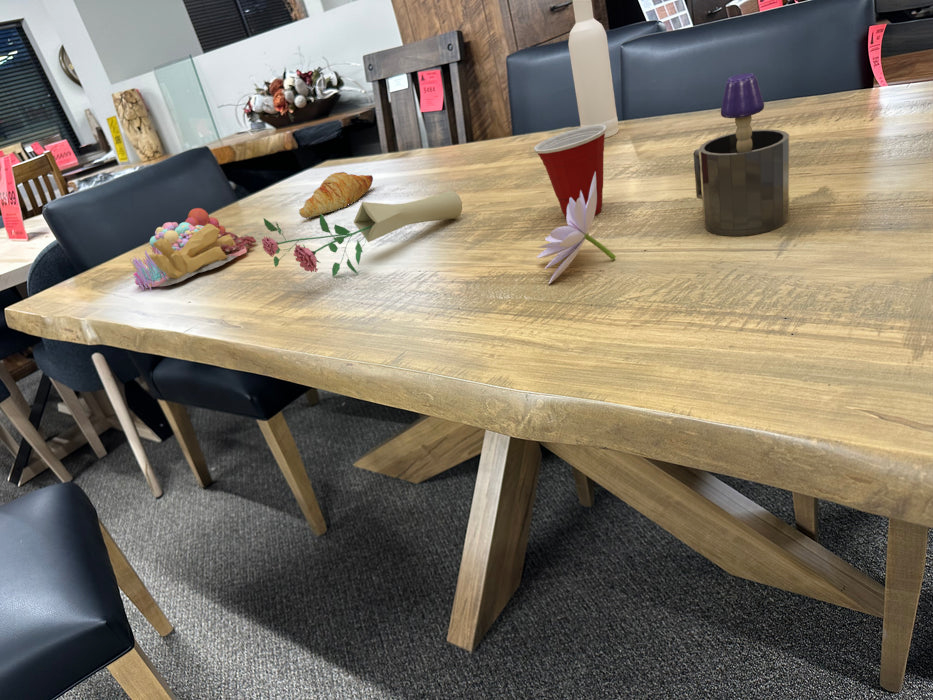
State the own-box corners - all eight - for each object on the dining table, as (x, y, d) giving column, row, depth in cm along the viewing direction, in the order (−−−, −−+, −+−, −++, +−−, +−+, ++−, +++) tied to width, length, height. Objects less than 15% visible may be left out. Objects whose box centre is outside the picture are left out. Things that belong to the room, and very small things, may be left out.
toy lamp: (770, 218, 78) (768, 73, 70) (729, 224, 79) (722, 83, 71) (761, 205, 82) (758, 67, 74) (722, 212, 83) (715, 77, 75)
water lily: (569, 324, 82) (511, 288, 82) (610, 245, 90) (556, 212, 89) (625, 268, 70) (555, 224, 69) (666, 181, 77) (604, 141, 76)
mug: (807, 213, 78) (808, 131, 73) (748, 242, 75) (746, 158, 70) (725, 199, 89) (721, 126, 84) (671, 223, 86) (664, 149, 81)
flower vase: (470, 263, 112) (297, 313, 89) (424, 238, 119) (252, 279, 96) (480, 198, 106) (297, 234, 83) (430, 176, 113) (249, 204, 90)
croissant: (317, 237, 136) (316, 206, 130) (285, 216, 139) (282, 184, 133) (385, 199, 148) (387, 169, 142) (354, 181, 152) (354, 150, 146)
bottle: (575, 141, 140) (551, -11, 126) (596, 130, 144) (576, -18, 130) (604, 140, 135) (582, -19, 121) (626, 129, 139) (607, -26, 125)
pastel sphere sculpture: (275, 245, 125) (257, 200, 121) (162, 298, 112) (137, 250, 108) (222, 237, 143) (204, 197, 138) (119, 282, 130) (96, 240, 125)
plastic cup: (559, 203, 105) (546, 130, 99) (625, 197, 99) (615, 119, 94) (537, 229, 97) (521, 150, 91) (606, 224, 91) (594, 140, 86)
